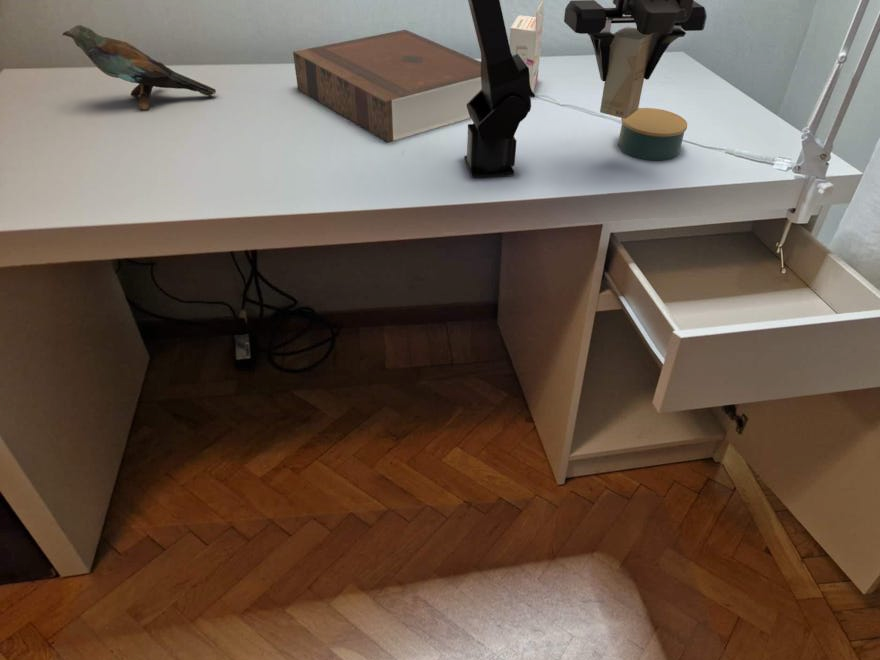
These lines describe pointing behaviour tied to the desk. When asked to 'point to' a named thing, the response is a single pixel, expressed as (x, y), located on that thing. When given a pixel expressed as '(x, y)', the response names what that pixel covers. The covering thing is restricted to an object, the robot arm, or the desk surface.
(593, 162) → the desk surface
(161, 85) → the bird figurine
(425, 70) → the book
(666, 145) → the tin
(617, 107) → the box
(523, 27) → the ink cartridge box
